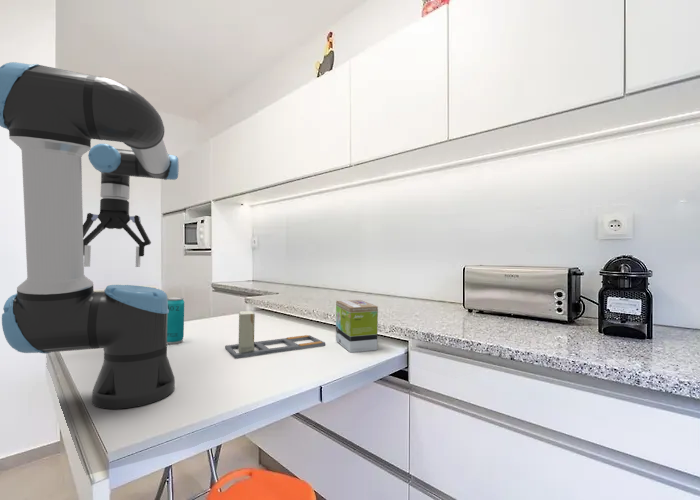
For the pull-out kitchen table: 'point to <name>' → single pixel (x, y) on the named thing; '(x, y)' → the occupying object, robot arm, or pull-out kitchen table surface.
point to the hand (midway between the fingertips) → (113, 266)
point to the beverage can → (175, 320)
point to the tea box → (356, 325)
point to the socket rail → (287, 341)
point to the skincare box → (246, 331)
